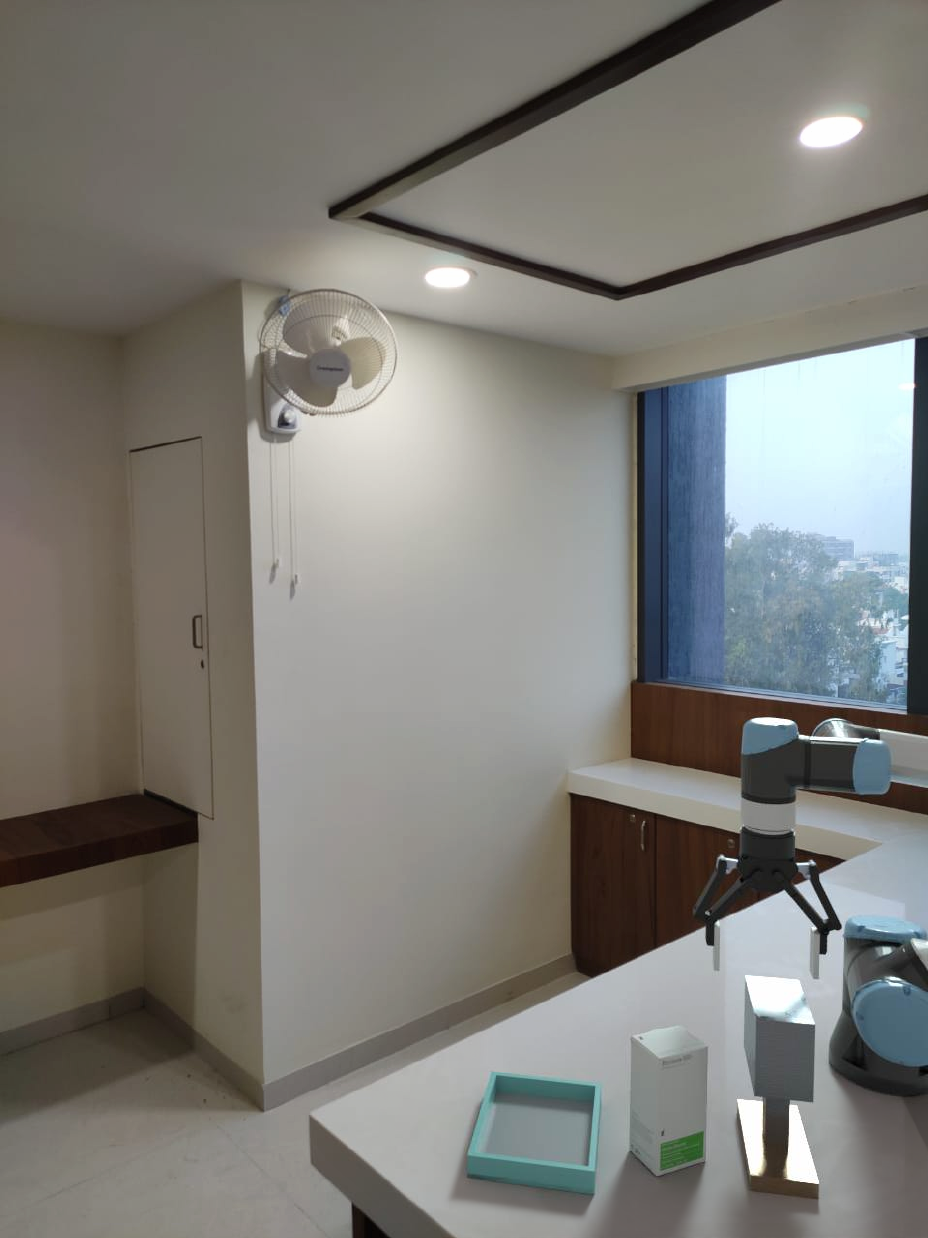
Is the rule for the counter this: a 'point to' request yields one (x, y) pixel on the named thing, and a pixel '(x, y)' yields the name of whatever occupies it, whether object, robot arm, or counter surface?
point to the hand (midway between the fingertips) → (764, 971)
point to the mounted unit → (778, 1087)
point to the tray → (537, 1133)
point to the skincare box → (668, 1099)
